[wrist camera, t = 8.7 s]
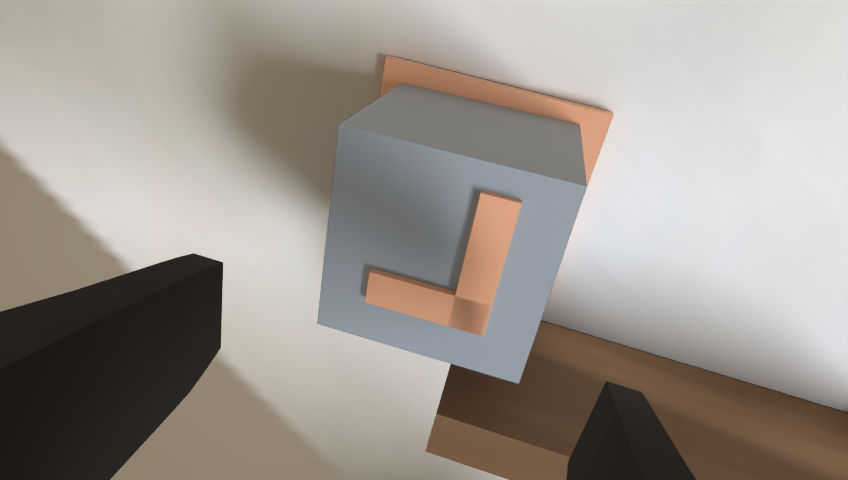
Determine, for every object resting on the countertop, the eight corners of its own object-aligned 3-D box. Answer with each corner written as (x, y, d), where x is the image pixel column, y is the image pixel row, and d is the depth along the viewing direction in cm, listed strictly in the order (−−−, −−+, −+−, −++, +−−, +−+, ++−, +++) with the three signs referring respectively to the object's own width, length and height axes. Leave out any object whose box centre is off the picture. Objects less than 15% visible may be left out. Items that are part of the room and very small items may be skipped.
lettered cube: (530, 279, 19) (518, 389, 14) (378, 237, 19) (314, 327, 14) (580, 124, 16) (587, 189, 11) (403, 82, 17) (335, 126, 12)
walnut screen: (881, 490, 20) (998, 679, 14) (453, 356, 21) (417, 480, 16) (952, 410, 18) (1118, 594, 12) (478, 271, 19) (446, 379, 14)
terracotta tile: (542, 302, 19) (541, 308, 19) (358, 248, 20) (354, 252, 20) (612, 111, 16) (613, 114, 16) (389, 55, 17) (385, 57, 17)
